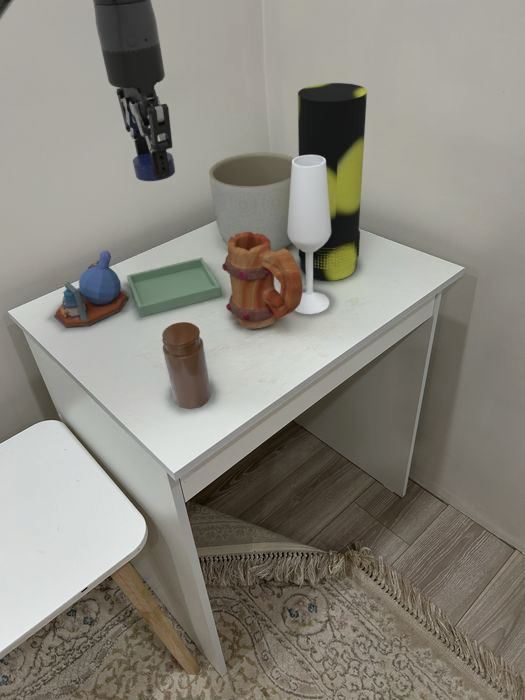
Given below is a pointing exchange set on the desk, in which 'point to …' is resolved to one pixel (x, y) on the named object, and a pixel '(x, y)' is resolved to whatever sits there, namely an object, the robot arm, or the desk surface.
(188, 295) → the tray
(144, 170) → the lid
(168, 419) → the desk surface
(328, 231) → the champagne flute
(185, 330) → the jar
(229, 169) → the planter
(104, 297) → the model
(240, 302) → the mug
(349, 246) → the container
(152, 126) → the robot arm
